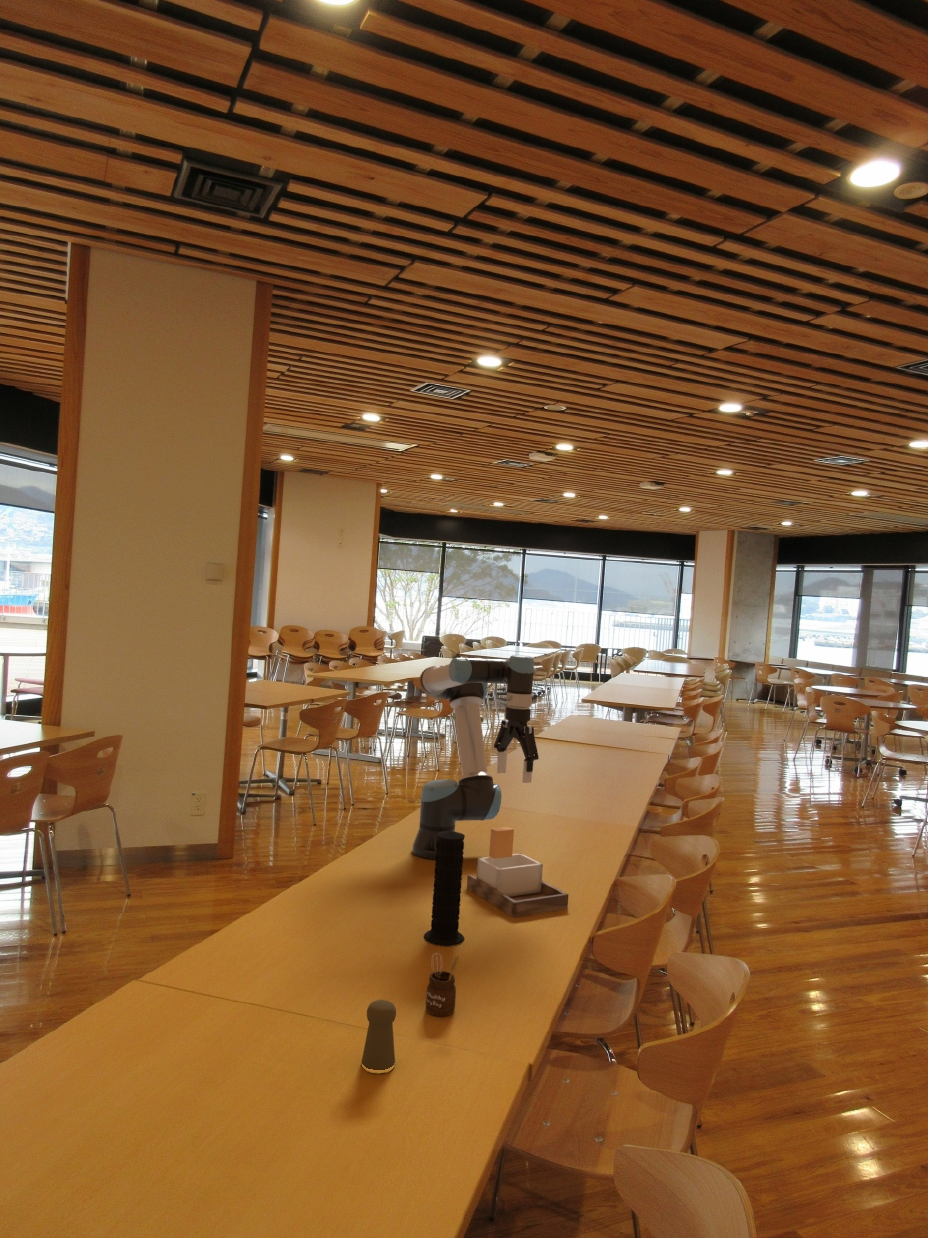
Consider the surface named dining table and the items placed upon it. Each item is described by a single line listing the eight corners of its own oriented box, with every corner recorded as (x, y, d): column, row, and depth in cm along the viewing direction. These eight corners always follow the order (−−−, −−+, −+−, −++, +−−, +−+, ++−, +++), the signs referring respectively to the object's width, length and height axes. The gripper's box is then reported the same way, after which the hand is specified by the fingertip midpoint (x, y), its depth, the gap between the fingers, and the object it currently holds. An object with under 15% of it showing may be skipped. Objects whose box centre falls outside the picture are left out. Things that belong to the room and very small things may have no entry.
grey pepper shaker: (361, 1055, 155) (365, 995, 155) (395, 1056, 155) (399, 996, 155) (360, 1074, 149) (364, 1011, 149) (395, 1074, 149) (399, 1012, 149)
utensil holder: (438, 1000, 178) (442, 943, 178) (461, 1011, 174) (465, 952, 174) (419, 1010, 173) (423, 951, 173) (442, 1021, 169) (446, 961, 169)
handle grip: (419, 943, 207) (459, 949, 205) (426, 833, 206) (467, 838, 204) (429, 927, 217) (468, 933, 215) (435, 823, 216) (475, 828, 214)
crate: (474, 884, 247) (477, 829, 247) (517, 879, 255) (520, 825, 255) (496, 898, 237) (500, 841, 237) (540, 892, 245) (544, 836, 244)
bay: (466, 888, 248) (467, 874, 248) (518, 881, 257) (518, 868, 257) (513, 917, 227) (514, 902, 227) (567, 909, 237) (568, 894, 237)
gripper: (485, 701, 266) (481, 769, 267) (532, 713, 245) (527, 787, 245) (505, 701, 270) (501, 768, 271) (553, 713, 249) (548, 786, 249)
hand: (513, 777), depth 258 cm, fingers open, 13 cm apart
